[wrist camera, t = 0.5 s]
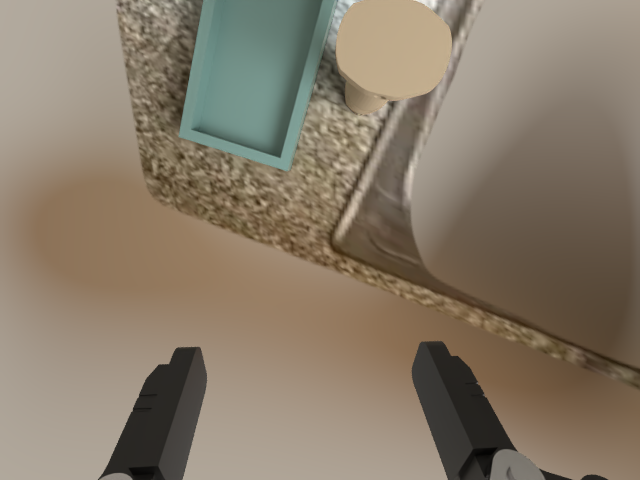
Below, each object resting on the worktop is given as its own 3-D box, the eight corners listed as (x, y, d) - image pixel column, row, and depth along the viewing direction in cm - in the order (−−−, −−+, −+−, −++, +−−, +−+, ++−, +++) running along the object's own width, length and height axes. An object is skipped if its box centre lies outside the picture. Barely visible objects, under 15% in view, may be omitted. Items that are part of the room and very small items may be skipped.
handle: (385, 130, 32) (436, 106, 18) (325, 117, 32) (327, 82, 17) (397, 81, 31) (463, 12, 17) (335, 66, 31) (347, -16, 16)
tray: (229, -58, 28) (218, -83, 25) (342, -17, 29) (344, -36, 26) (191, 138, 33) (178, 136, 30) (290, 170, 33) (287, 171, 30)
